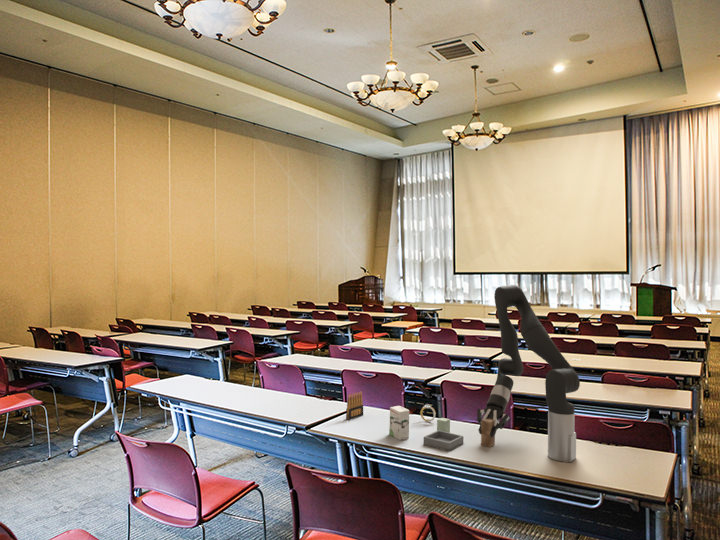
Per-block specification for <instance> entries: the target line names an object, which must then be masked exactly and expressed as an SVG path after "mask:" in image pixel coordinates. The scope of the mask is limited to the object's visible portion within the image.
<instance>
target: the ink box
mask: <svg viewBox="0 0 720 540" xmlns="http://www.w3.org/2000/svg"><path fill="white" fill-rule="evenodd" d="M388 431H389V433H388V434H389V435H390V436H392V437H394V438H395V439H397V440H399V441H401V440H402V439H403V440H408V439H409V437H410V410H409V409H408V408H405V407H403V406H401V405H395V406H390V407H389V430H388Z"/></svg>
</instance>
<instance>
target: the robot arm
mask: <svg viewBox="0 0 720 540" xmlns="http://www.w3.org/2000/svg"><path fill="white" fill-rule="evenodd" d="M493 294H494V297H493V298H494V304H495V309H496V314H497V315H496V316H497V320H498V324H499V329H500V344H501V346H500V347H501V353H502V354H504V355H506V356H508V357H509V358H505V357H503V358H501V359H500V360H499V361H498V364H497V376H496V379H495V384H494V385H493V387H492V390H491V393H490V394H489V398H488V400H487V402H486V406H485V408H484V409H480V408H477V409H476V410H477V411H476V413H477V415H476V421H477V423H478V425H479V428H478V432H479V435H481V420H482V419H484V418H489V419H493V420H494V423H493V426H492V429H491V432H490V436H491V437H493V436H495V437H496V434H497V431H498V429H500V430H502V429H504V427H505V426H506V424H508V422H509V421H510V420H511V418H510V416H509V414H507V413H505V411H506V409H507V406H508V404H509V401H510V397H511V396H510V395H511V392H512V390H513V387H514V379H513V378H512V377H510V376H514V377H520V376H521V375H522V374H523V372H524V364H523V361H522V358H521V357H522V356H521V355H520V351H519V336H518V332H517V330H516V328H515V327H514V325H513V323H512V322H511V320H510V318H509V314H508V308H511V307H515V308H516V309H517V312H518V313H519V316H520V331H519V332H520V335H521V337H522V339H523V340H524V342H525V344H526V345H527V347H528V349H530V350H531V352H533V353H534V354H535V355H537V356H538V357H540V359H542V360H543V361H545V362H546V363H547V364H548V365H549V366H550V368H551V369H550V370H549V371H548V372H547V373H546V375H545V380H544V381H545V383H544V385H545V401H546V404H547V410H548V411H547V420H548V421H547V457H548V458H550V459H552V460H555V461H558V462H567V463H568V462H569V463H572V462H574V460H575V459H576V458H577V432H575V418H576V417H575V409H576V407H575V404H573V403H571V402H569V401H568V400H567V394H571V393H575V392H577V391H578V390H579V389H580V387H581V384H580V383H581V382H580V377H579V375H578V374H577V372H576V371H575V369H574V368H573V366H572V365H571V364H570V363H569V362H568V360H567V359H566V358H565V356H563V354H562V352H561V351H560V349H558V346H557V345H556V344H555V343H554V341H553V340H552V338H551V337H550V335H549V333H548V332H547V330H546V328H545V326H544V325H543V324H542V323H541V321H540V319H539V318H538V316H537V314H536V313H535V312H534V310H533V308H532V307H531V304H530V303H529V301H528V299H527V297H526V294H525V292H524V290H523V289H522V288H521V287H520V286H519V285H518V284H509V285H502V286H498V287H497V288H496V289H495V290H494V293H493ZM500 419H501V420H500Z"/></svg>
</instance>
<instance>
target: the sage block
mask: <svg viewBox="0 0 720 540" xmlns="http://www.w3.org/2000/svg"><path fill="white" fill-rule="evenodd" d="M438 430H440V431H444V432H448V433H451V419H450V418H445V417H440V418H437V420H436V431H438Z"/></svg>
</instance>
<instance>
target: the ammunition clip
mask: <svg viewBox="0 0 720 540" xmlns="http://www.w3.org/2000/svg"><path fill="white" fill-rule="evenodd" d="M363 402H364V401H363V392H362V390H360V391H358V392H357V391H356V392H353V393H352V392H350V393H348V395H347V402H346V406H347V407H346V410H345V411H346V413H345V420H346V421H351V420H354V419H357V418H361V417H362V416H364V404H363Z"/></svg>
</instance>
